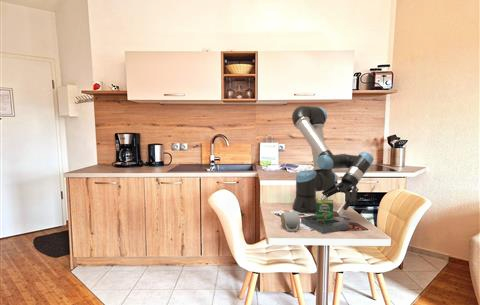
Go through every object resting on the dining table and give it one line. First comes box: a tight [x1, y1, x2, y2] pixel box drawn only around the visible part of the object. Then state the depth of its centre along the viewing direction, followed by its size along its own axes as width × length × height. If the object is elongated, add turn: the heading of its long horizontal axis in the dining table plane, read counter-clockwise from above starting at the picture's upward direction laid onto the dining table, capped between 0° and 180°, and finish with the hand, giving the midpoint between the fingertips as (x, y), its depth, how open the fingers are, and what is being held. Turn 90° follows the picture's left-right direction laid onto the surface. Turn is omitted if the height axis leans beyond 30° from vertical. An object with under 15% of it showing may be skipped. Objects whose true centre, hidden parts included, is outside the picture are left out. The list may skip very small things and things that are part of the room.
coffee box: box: [316, 198, 334, 224], centre depth 126 cm, size 8×3×13 cm, turn 67°
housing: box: [300, 214, 350, 235], centre depth 127 cm, size 16×16×3 cm
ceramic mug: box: [280, 210, 301, 233], centre depth 123 cm, size 11×8×8 cm
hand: (328, 210), depth 126 cm, fingers open, 13 cm apart
